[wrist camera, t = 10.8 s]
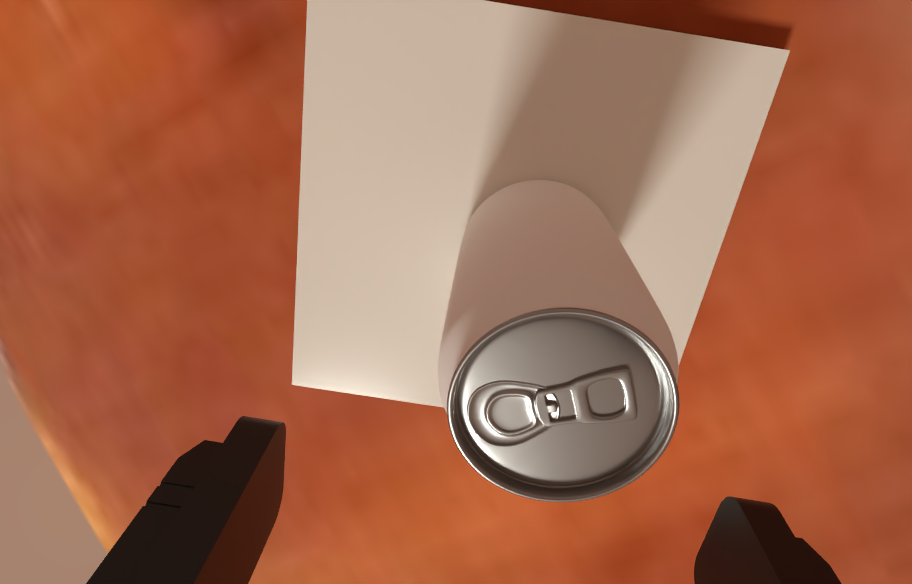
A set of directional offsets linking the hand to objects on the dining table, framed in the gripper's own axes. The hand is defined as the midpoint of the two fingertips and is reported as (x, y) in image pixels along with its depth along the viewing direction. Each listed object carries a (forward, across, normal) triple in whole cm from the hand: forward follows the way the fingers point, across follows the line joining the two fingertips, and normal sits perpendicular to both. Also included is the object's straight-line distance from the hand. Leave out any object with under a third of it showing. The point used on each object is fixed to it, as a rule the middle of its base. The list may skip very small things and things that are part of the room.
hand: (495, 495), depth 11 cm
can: (+16, -2, +1) cm, 16 cm away
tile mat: (+17, -1, 0) cm, 17 cm away
